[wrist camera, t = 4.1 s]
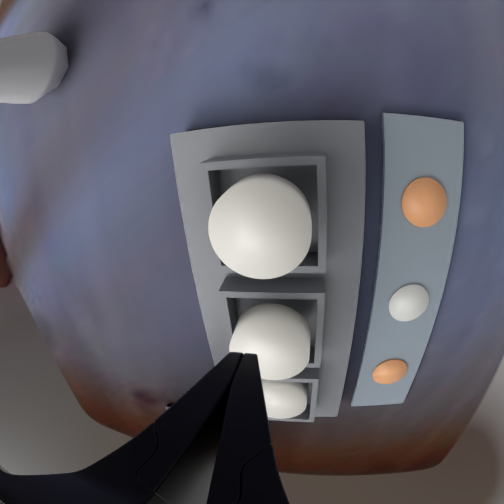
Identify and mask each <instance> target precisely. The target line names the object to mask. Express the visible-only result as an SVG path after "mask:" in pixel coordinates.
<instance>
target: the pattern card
mask: <svg viewBox="0 0 504 504" xmlns="http://www.w3.org/2000/svg"><path fill="white" fill-rule="evenodd" d="M381 115H382V143H383V176H382V206H381V223H380V236H379V248H378V258H377V267H376V275H375V283H374V290H373V297H372V304H371V311H370V317H369V322H368V328H367V334H366V339H365V344H364V349H363V354H362V359H361V363H360V368H359V372H358V376H357V381H356V385H355V389H354V393H353V397H352V400H351V406H370V405H385V404H397V403H403V402H404V400H405V398H406V395H407V393H408V391H409V389H410V386H411V384H412V382H413V379H414V377H415V375H416V372H417V370H418V367H419V365H420V362H421V360H422V357H423V354H424V352H425V349H426V346H427V343H428V340H429V337H430V334H431V331H432V328H433V325H434V322H435V319H436V316H437V312H438V309H439V305H440V302H441V298H442V295H443V291H444V287H445V283H446V279H447V274H448V270H449V266H450V261H451V256H452V251H453V246H454V240H455V234H456V228H457V221H458V214H459V206H460V197H461V187H462V174H463V154H464V122H460V121H454V120H447V119H440V118H433V117H425V116H416V115H406V114H394V113H381Z"/></svg>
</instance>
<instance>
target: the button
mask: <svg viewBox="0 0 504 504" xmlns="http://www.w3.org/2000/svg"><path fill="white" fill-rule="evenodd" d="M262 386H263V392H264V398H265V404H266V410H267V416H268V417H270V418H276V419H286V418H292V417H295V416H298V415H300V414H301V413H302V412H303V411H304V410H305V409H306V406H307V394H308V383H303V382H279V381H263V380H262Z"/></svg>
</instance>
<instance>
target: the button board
mask: <svg viewBox="0 0 504 504" xmlns="http://www.w3.org/2000/svg"><path fill="white" fill-rule="evenodd" d="M170 140H171V148H172V155H173V162H174V169H175V176H176V182H177V189H178V195H179V201H180V207H181V213H182V218H183V224H184V230H185V235H186V240H187V246H188V251H189V256H190V261H191V266H192V271H193V276H194V280H195V285H196V290H197V294H198V299H199V303H200V308H201V312H202V317H203V321H204V325H205V329H206V334H207V338H208V342H209V346H210V350H211V354H212V358H213V362H214V366H215V365H217V364H218V363H219V362H220V361H221V360H222V359H223V358H224V357H225V356H226V355H227V354H228V353H229V345H230V341H231V338H232V336H233V333H234V330H235V327H236V325H237V322H238V320H239V318H240V316H241V315H242V314H243V313H244V312H245V311H246V310H247V309H249V308H251V307H253V306H256V305H260V304H266V303H273V304H281V305H284V306H287V307H290V308H292V309H294V310H296V311H297V312H299V313H300V314H301V315H302V316H303V317H304V318H305V319H306V321H307V322H308V324H309V327H310V331H311V339H310V357H309V362H308V364H307V366H306V367H305V368H304V370H303V371H301V372H300V373H299V374H297V375H295V376H293V377H291V378H287V379H283V380H265V379H261V380H263V381H279V382H303V383H308V394H307V406H306V409H305V410H304V411H303V412H302V413H301V414H300V415H298V416H295V417H292V418H286V419H276V418H270V417H268V420H276V421H293V422H314V417H337V415H338V411H339V406H340V402H341V397H342V393H343V388H344V383H345V378H346V373H347V368H348V362H349V357H350V351H351V345H352V338H353V332H354V325H355V318H356V311H357V303H358V294H359V285H360V275H361V264H362V252H363V237H364V218H365V181H366V163H365V125H364V121H358V120H305V121H281V122H266V123H253V124H242V125H232V126H223V127H215V128H207V129H200V130H193V131H187V132H180V133H175V134H170ZM260 173H266V174H274V175H277V176H281V177H283V178H285V179H287V180H289V181H290V182H292V183H293V184H294V185H296V186H297V187H298V188H299V189H300V190H301V191H302V193H303V194H304V195H305V197H306V199H307V201H308V203H309V206H310V210H311V216H312V238H311V244H310V248H309V250H308V253H307V255H306V256H305V258H304V259H303V261H302V262H301V263H300V264H299V265H298V266H297V267H296V268H295V269H294V270H292V271H291V272H289V273H287V274H285V275H283V276H280V277H277V278H272V279H255V278H250V277H246V276H243V275H241V274H239V273H237V272H235V271H233V270H232V269H230V268H229V267H228V266H226V265H225V264H224V263H223V262H222V261H221V259H220V258H219V257H218V256H217V254H216V253H215V251H214V249H213V247H212V245H211V242H210V238H209V232H208V222H209V216H210V213H211V210H212V208H213V206H214V204H215V203H216V202H217V200H218V199H219V198H220V197H221V196H222V195H223V194H224V193H225V192H226V191H227V190H228V189H229V188H230V187H231V186H232V185H234V184H235V183H236V182H237V181H239V180H241V179H242V178H244V177H247V176H250V175H253V174H260Z"/></svg>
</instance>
